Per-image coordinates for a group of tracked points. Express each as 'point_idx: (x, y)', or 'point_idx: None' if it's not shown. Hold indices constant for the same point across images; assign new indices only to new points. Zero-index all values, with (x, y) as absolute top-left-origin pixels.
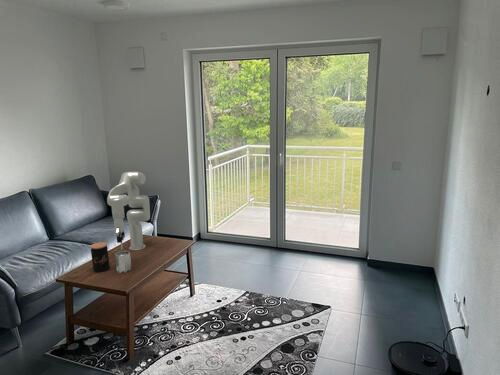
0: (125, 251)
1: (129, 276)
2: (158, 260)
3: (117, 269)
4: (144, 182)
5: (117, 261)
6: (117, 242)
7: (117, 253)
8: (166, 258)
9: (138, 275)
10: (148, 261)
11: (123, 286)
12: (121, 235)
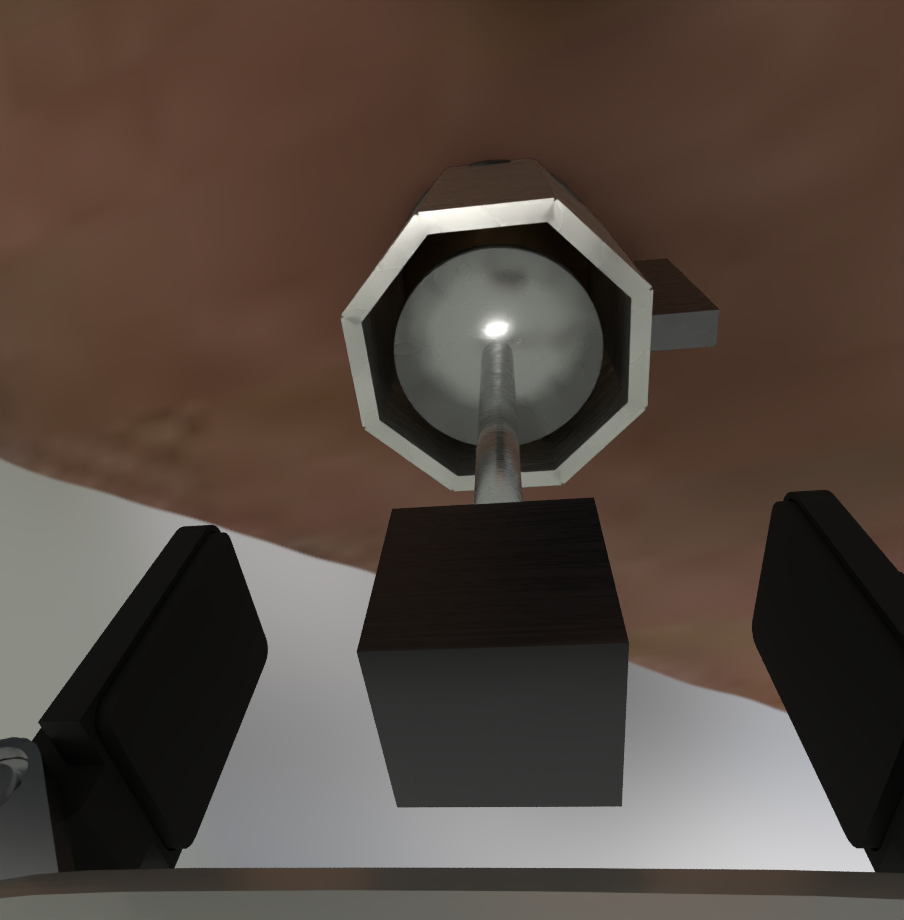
0: (628, 386)
1: (286, 393)
2: (706, 607)
3: (427, 193)
4: None
5: (391, 244)
6: (186, 534)
7: (554, 227)
8: (739, 667)
9: (316, 483)
10: (710, 516)
11: (35, 390)
12: (500, 762)
